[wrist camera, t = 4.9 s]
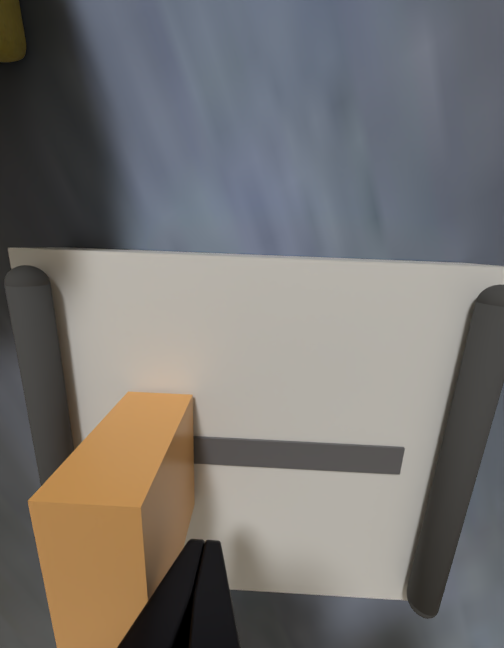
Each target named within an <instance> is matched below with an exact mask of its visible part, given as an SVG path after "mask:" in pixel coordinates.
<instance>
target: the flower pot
mask: <svg viewBox="0 0 504 648" xmlns="http://www.w3.org/2000/svg"><path fill="white" fill-rule="evenodd" d="M25 53H26V40H25V34H24V28H23V22H22V16H21V10H20V4H19V0H0V62H14V61H18V60H21V59H23V57H24V56H25Z"/></svg>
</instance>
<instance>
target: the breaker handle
mask: <svg viewBox="0 0 504 648" xmlns="http://www.w3.org/2000/svg"><path fill="white" fill-rule="evenodd" d="M28 505H29V510H30V515H31V520H32V525H33V530H34V535H35V540H36V545H37V550H38V555H39V560H40V565H41V570H42V575H43V580H44V585H45V590H46V595H47V600H48V605H49V610H50V615H51V620H52V625H53V630H54V635H55V640H56V645H57V648H117V647H118V645H119V644H120V642H121V641H122V639H123V638H124V636H125V635H126V633H127V632H128V630H129V629H130V627H131V626H132V624H133V623H134V621H135V620H136V618H137V617H138V615H139V614H140V612H141V611H142V609H143V608H144V606H145V605H146V603H147V602H148V600H149V599H150V597H151V596H152V594H153V593H154V591H155V590H156V588H157V587H158V585H159V584H160V582H161V581H162V579H163V578H164V576H165V575H166V573H167V572H168V570H169V569H170V567H171V566H172V564H173V563H174V561H175V560H176V558H177V557H178V555H179V554H180V552H181V551H182V549H183V547H184V543H185V540H186V536H187V532H188V528H189V524H190V520H191V516H192V512H193V509H194V505H195V496H194V438H193V395H190V394H170V393H149V392H129V391H128V392H127V393H126V394H125V395H124V397H123V398H122V399H121V400H120V401H119V402H118V403H117V404H116V405H115V406H114V407H113V409H112V410H111V411H110V412H109V413H108V414H107V415H106V416H105V417H104V418H103V419H102V421H101V422H100V423H99V424H98V425H97V426H96V427H95V428H94V429H93V430H92V432H91V433H90V434H89V435H88V436H87V437H86V438H85V439H84V440H83V441H82V442H81V444H80V445H79V446H78V447H77V448H76V449H75V450H74V451H73V452H72V453H71V454H70V456H69V457H68V458H67V459H66V460H65V461H64V462H63V463H62V464H61V465H60V466H59V468H58V469H57V470H56V471H55V472H54V473H53V474H52V475H51V476H50V477H49V478H48V480H47V481H46V482H45V483H44V484H43V485H42V486H41V487H40V488H39V489H38V491H37V492H36V493H35V494H34V495H33V496H32V497H31V498H30V499H29V500H28Z"/></svg>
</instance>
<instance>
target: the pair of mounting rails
mask: <svg viewBox="0 0 504 648" xmlns="http://www.w3.org/2000/svg"><path fill="white" fill-rule="evenodd" d="M4 286H5V291H6V297H7V302H8V308H9V313H10V319H11V324H12V330H13V335H14V341H15V346H16V352H17V357H18V363H19V368H20V374H21V379H22V384H23V390H24V395H25V401H26V406H27V412H28V417H29V423H30V428H31V434H32V439H33V445H34V450H35V456H36V461H37V467H38V472H39V478H40V483H41V486H42V485H43V484H44V483H45V482H46V481H47V480H48V478H49V477H50V476H51V475H52V474H53V473H54V472H55V471H56V470H57V469H58V468H59V466H60V465H61V464H62V463H63V462H64V461H65V460H66V459H67V458H68V457H69V456H70V454H71V453H72V452H73V451H74V444H73V437H72V430H71V423H70V416H69V409H68V402H67V395H66V388H65V381H64V373H63V366H62V359H61V352H60V345H59V338H58V331H57V324H56V317H55V310H54V303H53V296H52V288H51V282H50V279H49V277H48V276H47V274H46V273H45V272H44V271H42V270H41V269H39V268H37V267H34V266H30V265H21V266H17V267H15V268H13V269H11V270H10V271H9V272H8V273H7V274H6V276H5V280H4ZM503 383H504V285H501V284H500V285H494V286H490V287H488V288H486V289H485V290H483V291H482V292H481V293H480V294H479V295H478V297H477V299H476V302H475V306H474V310H473V315H472V319H471V323H470V327H469V331H468V335H467V340H466V344H465V348H464V352H463V356H462V361H461V365H460V369H459V373H458V377H457V381H456V386H455V390H454V394H453V398H452V402H451V407H450V411H449V415H448V419H447V423H446V427H445V432H444V436H443V440H442V444H441V448H440V453H439V457H438V461H437V465H436V469H435V473H434V478H433V482H432V486H431V490H430V494H429V499H428V503H427V507H426V511H425V515H424V519H423V524H422V528H421V532H420V536H419V540H418V545H417V549H416V553H415V557H414V561H413V565H412V570H411V574H410V578H409V582H408V586H407V599H408V602H409V604H410V606H411V608H412V609H413V610H414V611H415V612H416V613H417V614H418V615H419V616H421V617H423V618H427V619H428V618H433V617H435V616H436V615H437V613H438V611H439V607H440V604H441V600H442V597H443V593H444V590H445V586H446V583H447V579H448V576H449V572H450V568H451V565H452V561H453V558H454V554H455V551H456V547H457V544H458V540H459V537H460V533H461V530H462V526H463V523H464V519H465V516H466V512H467V509H468V505H469V502H470V498H471V495H472V491H473V488H474V484H475V481H476V477H477V474H478V470H479V467H480V463H481V460H482V456H483V453H484V449H485V446H486V442H487V439H488V435H489V432H490V428H491V425H492V421H493V418H494V414H495V411H496V407H497V404H498V400H499V397H500V393H501V390H502V386H503Z"/></svg>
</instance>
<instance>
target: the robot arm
mask: <svg viewBox="0 0 504 648" xmlns="http://www.w3.org/2000/svg"><path fill="white" fill-rule="evenodd" d="M117 648H241V646H240V641H239V635H238V630H237V625H236V620H235V614H234V609H233V604H232V598H231V593H230V588H229V583H228V577H227V572H226V567H225V561H224V556H223V551H222V546H221V542H220V541H219V540H206V541H204V540H203V539H190V540H189V541H188V542H187V543H186V545H185V546H184V548H183V549H182V551H181V552H180V554H179V555H178V557H177V558H176V560H175V561H174V563H173V564H172V566H171V567H170V569H169V570H168V572H167V573H166V575H165V576H164V578H163V579H162V581H161V582H160V584H159V585H158V587H157V588H156V590H155V591H154V593H153V594H152V596H151V597H150V599H149V600H148V602H147V603H146V605H145V606H144V608H143V609H142V611H141V612H140V614H139V615H138V617H137V618H136V620H135V621H134V623H133V624H132V626H131V627H130V629H129V630H128V632H127V633H126V635H125V636H124V638H123V639H122V641H121V642H120V644H119V645H118V647H117Z"/></svg>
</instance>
